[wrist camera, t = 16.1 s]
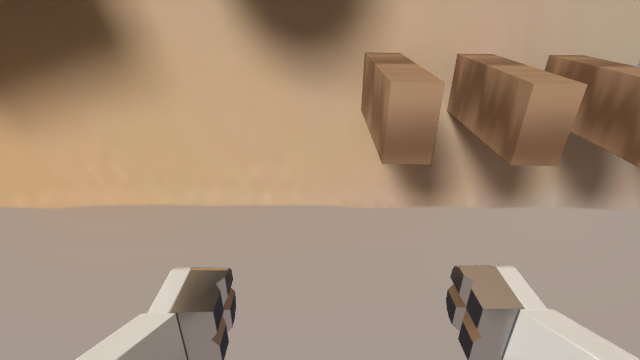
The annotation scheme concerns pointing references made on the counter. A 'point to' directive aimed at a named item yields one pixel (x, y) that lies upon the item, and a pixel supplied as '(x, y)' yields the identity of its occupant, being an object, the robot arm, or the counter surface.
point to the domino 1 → (400, 108)
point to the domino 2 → (515, 107)
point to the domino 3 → (605, 103)
